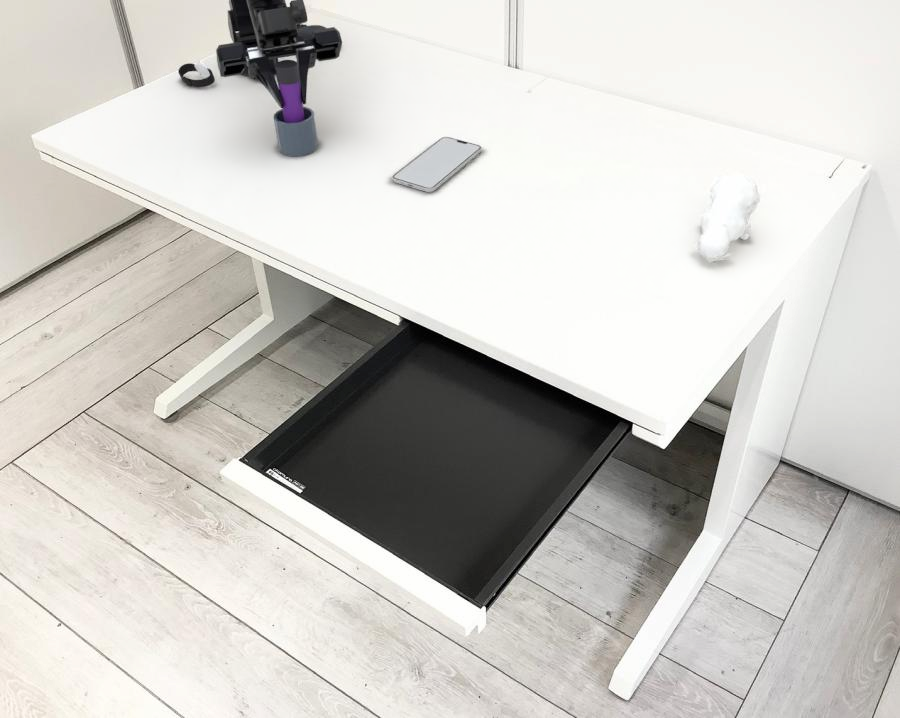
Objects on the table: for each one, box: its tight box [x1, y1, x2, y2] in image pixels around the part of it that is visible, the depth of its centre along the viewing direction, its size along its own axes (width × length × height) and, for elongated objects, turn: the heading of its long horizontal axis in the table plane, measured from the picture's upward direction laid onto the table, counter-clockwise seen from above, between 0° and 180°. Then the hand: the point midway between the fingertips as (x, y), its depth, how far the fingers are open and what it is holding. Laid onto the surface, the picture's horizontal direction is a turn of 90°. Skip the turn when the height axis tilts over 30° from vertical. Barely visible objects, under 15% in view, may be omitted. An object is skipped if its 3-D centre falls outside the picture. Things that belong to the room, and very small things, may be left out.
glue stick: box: [275, 59, 305, 123], centre depth 137 cm, size 3×3×12 cm
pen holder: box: [273, 106, 319, 158], centre depth 140 cm, size 6×6×6 cm
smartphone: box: [391, 136, 482, 193], centre depth 135 cm, size 7×1×15 cm
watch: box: [177, 60, 216, 88], centre depth 160 cm, size 8×5×4 cm, turn 54°
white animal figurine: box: [693, 172, 761, 264], centre depth 115 cm, size 6×8×12 cm
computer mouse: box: [295, 23, 327, 42], centre depth 172 cm, size 10×15×4 cm
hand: (293, 105), depth 135 cm, fingers closed on glue stick, 3 cm apart
